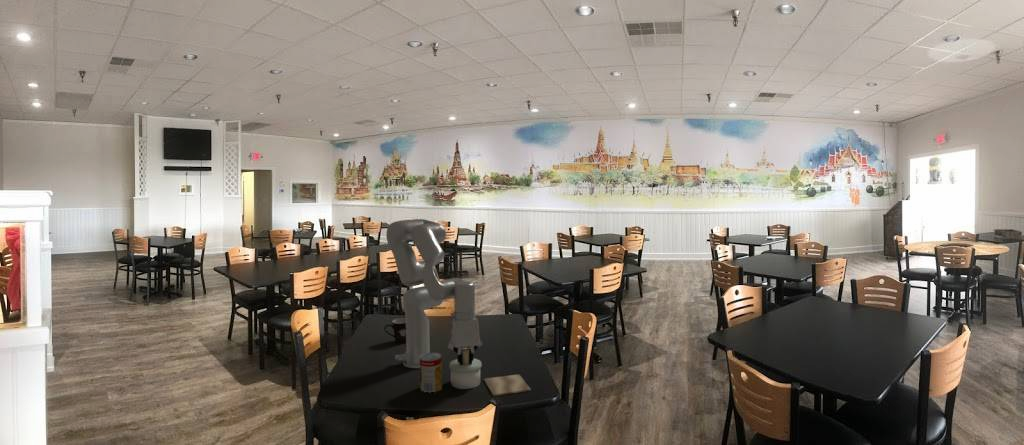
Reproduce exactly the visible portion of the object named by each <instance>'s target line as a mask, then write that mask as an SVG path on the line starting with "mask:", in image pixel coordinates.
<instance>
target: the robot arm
mask: <svg viewBox="0 0 1024 445" xmlns="http://www.w3.org/2000/svg"><path fill="white" fill-rule="evenodd" d="M386 228H387V229H386V242H387V244H388V247H389V249H390V251H391V252H392V255H393V257H394V261H395V264H396V268H397V269H396V270H397V272H398V273H397V274H398V276H399V279H400V281H401V283H402V284H403V285H404V286H407V287H410V286H416V285H421V284H423V286H418V287H417V286H416V287H413V288H410V289H408V290H406V291H405V292H404V294H403V295H402V305H403V310H404V315H405V318H406V343H405V344H406V346H405V348H406V350H405V352H404V353H402V354H395V356H394V360H395V361H398V362H402V365H403V367H405V368H408V369H420V356H421V355H422V354H425V353H431V349H430V348H431V347H430V346H431V345H430V342H431V341H430V337H431V336H430V319H429V316H428V315H427V314H426V312H425V310H429V309H432V308H436V307H439V306H441V305H442V303H443V302H444V301H448V300H453V299H454V300H453V301H454V302H453V303H454V311H453V312H451V313H450V318H453V319H452V323H451V333H450V334H451V335H450V340H449V343H448V344H447V348H448V349H449V350H452V351H454V352H455V353H456V354H457V359H458V362H459V363H460V365H462V354H461V349H462V348H469V361H470V364H472V361H473V358H474V353H475V351H477V349H478V348H479V347H481V346H483V341H482V340H481V338H480V328H479V327H480V325H479V320H478V318H477V317H476V294H475V293H476V290H475V289H476V288H475V284H474V282H472V281H467V280H463V279H462V278H460V277H452V278H447V279H442V280H440V277H439V274H438V270H437V268H436V265H438V264H439V263H441V262H442V261H443V259H444V258H445V252H444V250H443V248H442V247H441V244H442V243H443V242H444V241H445V240H446V237H447V233H446V229H445V227H444V226H443V225H442V224H440V223H439V222H436V221H431V220H427V219H422V218H420V219H419V218H417V219H416V218H415V219H404V220H398V221H397V220H396V221H393V222H392V223H390V224H389V225H388V227H386ZM407 241H412V242H413V243H414V245H415V247H416V249H417V252H418V253H419V255H420V256H421V258H422V260H419V261H418V259H417V257H416V253H415V251H414V249H413V248H412V246H410V244H409V243H407Z"/></svg>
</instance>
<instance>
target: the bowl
mask: <svg viewBox="0 0 1024 445" xmlns="http://www.w3.org/2000/svg"><path fill="white" fill-rule="evenodd" d="M480 384H481V368H480V369H479V370H477V371H474V372H468V373H459V372H454V371H452V370H451V369H450V385H451V387H453V388H456V389H460V390H469V389H474V388H476V387H478V386H480Z"/></svg>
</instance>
